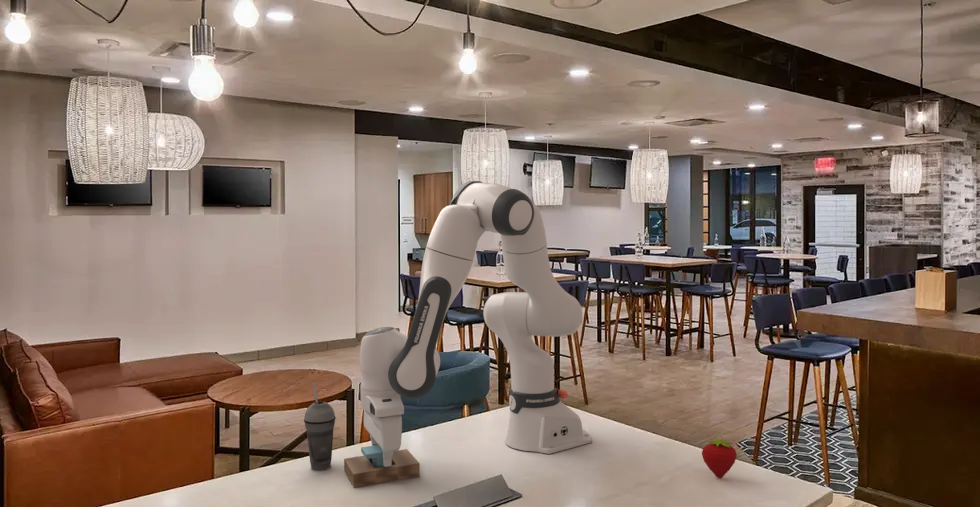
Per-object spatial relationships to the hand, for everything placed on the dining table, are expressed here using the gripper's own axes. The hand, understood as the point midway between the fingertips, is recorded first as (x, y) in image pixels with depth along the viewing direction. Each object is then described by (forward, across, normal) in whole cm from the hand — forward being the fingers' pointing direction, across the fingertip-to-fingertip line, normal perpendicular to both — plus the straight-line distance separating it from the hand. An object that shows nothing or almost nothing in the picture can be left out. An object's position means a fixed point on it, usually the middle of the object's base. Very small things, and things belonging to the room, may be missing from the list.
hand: (381, 458), depth 151 cm
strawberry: (+4, +34, +68) cm, 76 cm away
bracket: (+4, 0, -1) cm, 4 cm away
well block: (+4, 0, 0) cm, 4 cm away
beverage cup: (+4, -10, -12) cm, 16 cm away
